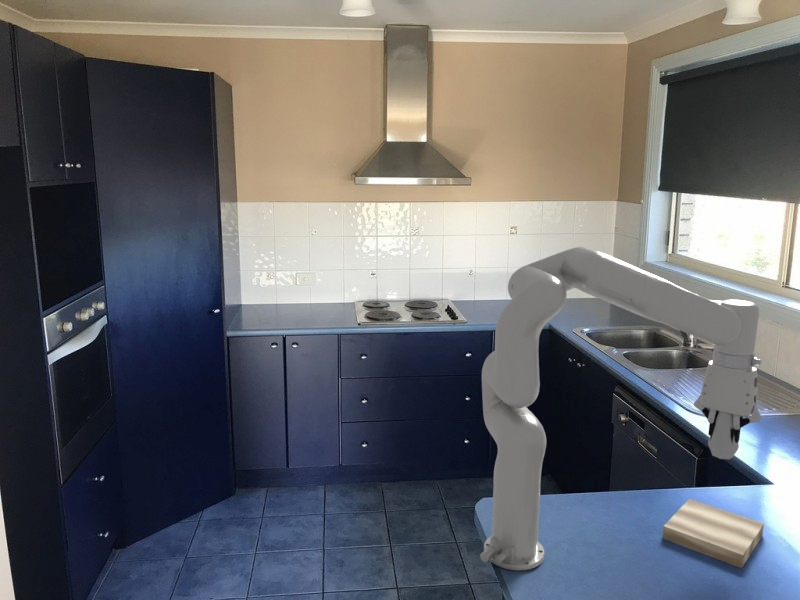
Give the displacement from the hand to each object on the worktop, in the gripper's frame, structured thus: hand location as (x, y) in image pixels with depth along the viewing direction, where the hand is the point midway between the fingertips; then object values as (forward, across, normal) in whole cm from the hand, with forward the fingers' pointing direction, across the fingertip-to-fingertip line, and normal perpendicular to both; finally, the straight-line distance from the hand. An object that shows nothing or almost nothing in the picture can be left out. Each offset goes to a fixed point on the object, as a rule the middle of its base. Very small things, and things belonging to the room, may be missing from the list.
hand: (723, 441), depth 138 cm
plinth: (+23, 0, 0) cm, 23 cm away
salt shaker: (+3, 0, 0) cm, 3 cm away
